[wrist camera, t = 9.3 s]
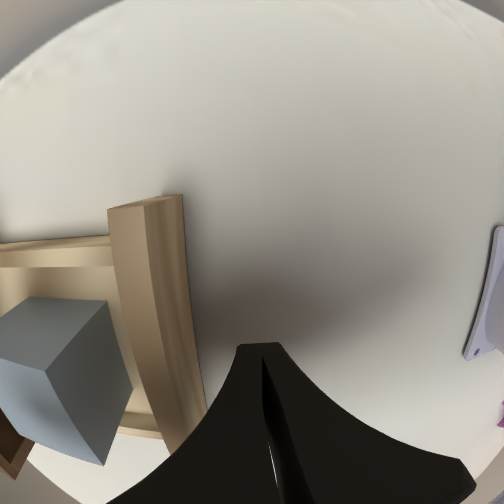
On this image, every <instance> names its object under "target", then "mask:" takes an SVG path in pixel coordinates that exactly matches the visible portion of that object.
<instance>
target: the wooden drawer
mask: <svg viewBox="0 0 504 504" xmlns="http://www.w3.org/2000/svg"><path fill="white" fill-rule="evenodd" d="M107 214H108V225H109V234H110V235H107V236H92V237H78V238H64V239H52V240H40V241H28V242H17V243H6V244H0V317H2V316H3V315H4V314H6V313H7V312H8V311H10V310H11V309H12V308H14V307H15V306H16V305H18V304H19V303H21V302H22V301H23V300H25V299H26V298H28V297H43V298H60V299H80V300H107V302H108V306H109V310H110V314H111V318H112V322H113V326H114V330H115V334H116V337H117V341H118V344H119V348H120V351H121V354H122V357H123V361H124V364H125V367H126V370H127V373H128V376H129V378H130V381H131V384H132V387H133V392H132V394H131V396H130V399H129V401H128V404H127V406H126V409H125V411H124V414H123V416H122V419H121V421H120V424H119V427H118V429H117V432H116V433H121V434H126V435H132V436H139V437H146V438H153V439H162V440H164V442H165V444H166V446H167V448H168V451H169V453H170V455H172V454H173V453H174V452H175V451H176V450H177V448H178V447H179V446H180V445H181V444H182V443H183V442H184V441H185V440H186V438H187V437H188V436H189V435H190V434H191V433H192V432H193V430H194V429H195V428H196V426H197V425H198V424H199V423H200V421H201V420H202V419H203V417H204V416H205V414H206V413H207V407H206V402H205V397H204V391H203V385H202V380H201V374H200V367H199V361H198V355H197V348H196V341H195V334H194V326H193V319H192V310H191V302H190V293H189V284H188V273H187V263H186V251H185V238H184V223H183V205H182V195H169V196H158V197H153V198H149V199H145V200H141V201H137V202H133V203H129V204H125V205H121V206H118V207H114V208H110V209H107Z"/></svg>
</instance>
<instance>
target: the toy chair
mask: <svg viewBox="0 0 504 504" xmlns="http://www.w3.org/2000/svg"><path fill="white" fill-rule="evenodd" d="M502 405H504V401H503V402H502ZM497 426H499V427H503V428H504V419H503V420H502V421H501V422H500V423H499V424H498V425H497Z"/></svg>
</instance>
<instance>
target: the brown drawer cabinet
mask: <svg viewBox="0 0 504 504" xmlns="http://www.w3.org/2000/svg"><path fill="white" fill-rule="evenodd" d="M34 444H35V442H34V441H32V440H30V439H28V438H26V437H24V436H22V435H20V434H19V433H18V432H17V431H16V429H15V428H14V427H13V425H12V424H11V422H10V421H9V420H8V418H7V417H6V415H5V414H4V412H3V411H2V409H1V408H0V471H1V472H3V473H4V474H6V475H8V476H9V477H10V478H12V479H14V480H16V478H17V476H18V474H19V472H20V470H21V468H22V466H23V464H24V462H25V460H26V459H27V457H28V455H29V453H30V451H31V449H32V448H33V446H34Z"/></svg>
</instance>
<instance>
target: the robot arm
mask: <svg viewBox="0 0 504 504" xmlns="http://www.w3.org/2000/svg"><path fill="white" fill-rule="evenodd" d="M495 348H497V349H499V350H500V351H501V352H502V353H503V354H504V226H498V227H497V228H496V230H495V232H494V238H493V245H492V252H491V258H490V263H489V269H488V274H487V278H486V283H485V287H484V291H483V295H482V299H481V303H480V307H479V310H478V314H477V317H476V320H475V323H474V326H473V329H472V332H471V335H470V338H469V341H468V344H467V346H466V349H465V352H464V355H463V356H464V358H465V359H466V360H467V361H468V360H471V359H473V358H476V357H478V356H480V355H482V354H484V353H486V352H489V351H491V350H493V349H495ZM269 446H270V448H269ZM270 450H271V453H270ZM271 455H272V459H273V463H274V468H275V473H276V478H275V473H274V469H273V464H272V459H271ZM276 479H277V483H276ZM476 485H477V484H476V482H475V481H474V479H473V478H472V476H471V474H470V473H469V471H468V470H467V468H466V467H465V465H464V464H463V463H462V462H461V460H460V459H457V458H453V457H448V456H444V455H440V454H436V453H432V452H428V451H425V450H422V449H419V448H416V447H413V446H411V445H408V444H405V443H403V442H400V441H398V440H396V439H394V438H391V437H389V436H387V435H385V434H384V433H382V432H380V431H378V430H376V429H374V428H372V427H370V426H368V425H367V424H365V423H363V422H362V421H360V420H359V419H357V418H356V417H354V416H353V415H351V414H350V413H348V412H347V411H346V410H344V409H343V408H342V407H340V406H339V405H338V404H336V403H335V402H334V401H333V400H332V399H330V398H329V397H328V396H327V395H326V394H325V393H324V392H323V391H321V390H320V389H319V388H318V387H317V386H316V385H315V384H314V383H313V382H312V381H311V380H310V379H309V378H308V377H307V376H306V375H305V373H304V372H303V371H302V370H301V369H300V368H299V367H298V366H297V365H296V363H295V362H294V361H293V360H292V359H291V357H290V356H289V355H288V353H287V352H286V351H285V349H284V348H283V347H282V345H281V344H280V343H279V342H271V343H254V344H240V345H239V346H237V350H236V355H235V358H234V361H233V364H232V366H231V369H230V371H229V373H228V376H227V378H226V380H225V382H224V384H223V386H222V388H221V390H220V391H219V393H218V395H217V397H216V398H215V400H214V402H213V403H212V405H211V407H210V408H209V410H208V411H207V413H206V414H205V416H204V417H203V419H202V420H201V421H200V423H199V424H198V425H197V426H196V428H195V429H194V430H193V432H192V433H191V434H190V435H189V436H188V437H187V438H186V440H185V441H184V442H183V443H182V444H181V445H180V446H179V447H178V448H177V450H176V451H175V452H174V453H173V454H172V455H171V456H170V457H168V458H167V459H166V460H165V461H164V462H163V463H162V464H161V465H159V466H158V467H157V468H156V469H155V470H154V471H153V472H151V473H150V474H149V475H148V476H147V477H145V478H144V479H143V480H141V481H140V482H139V483H137V484H136V485H134V486H133V487H131V488H130V489H128V490H127V491H125V492H124V493H122V494H121V495H119V496H117V497H116V498H114V499H113V500H111V501H109V502H108V503H106V504H460V503H461V502H462V501H463V500H465V499H466V498H467V497H468V496H469V495H470V494H472V492H473V491H474V490H475V488H476ZM277 487H278V488H277ZM488 504H504V490H503V491H502V492H501V493H500V494H499V495H497V496H496V497H495V498H494V499H493V500H492V501H490V502H489V503H488Z"/></svg>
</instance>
